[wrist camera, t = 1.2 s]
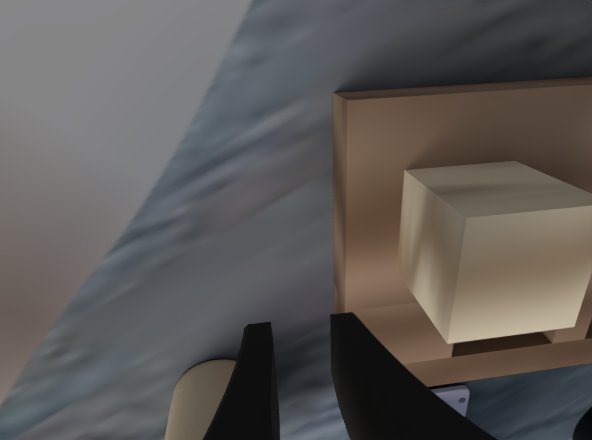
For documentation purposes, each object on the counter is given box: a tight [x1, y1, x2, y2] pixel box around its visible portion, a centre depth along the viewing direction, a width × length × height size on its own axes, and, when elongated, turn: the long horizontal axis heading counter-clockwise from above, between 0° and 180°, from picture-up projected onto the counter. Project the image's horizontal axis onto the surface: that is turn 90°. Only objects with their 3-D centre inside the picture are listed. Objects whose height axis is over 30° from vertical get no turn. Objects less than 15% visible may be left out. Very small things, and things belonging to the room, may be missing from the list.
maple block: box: [397, 161, 592, 344], centre depth 16 cm, size 5×5×5 cm
